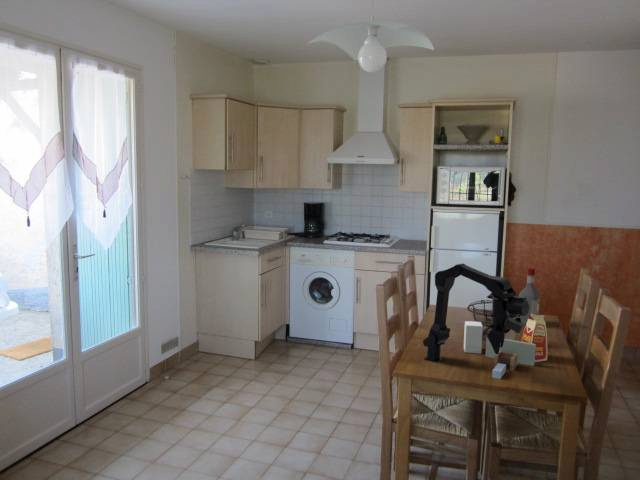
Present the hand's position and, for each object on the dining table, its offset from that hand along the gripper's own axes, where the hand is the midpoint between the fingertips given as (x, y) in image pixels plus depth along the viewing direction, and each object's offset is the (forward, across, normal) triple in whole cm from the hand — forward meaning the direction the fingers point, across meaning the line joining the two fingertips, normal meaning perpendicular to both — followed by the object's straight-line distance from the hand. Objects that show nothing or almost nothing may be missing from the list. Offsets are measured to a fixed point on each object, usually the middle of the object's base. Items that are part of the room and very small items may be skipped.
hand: (499, 350), depth 201 cm
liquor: (+11, +85, -1) cm, 86 cm away
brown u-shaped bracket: (+12, +18, 0) cm, 21 cm away
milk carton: (+12, +34, -9) cm, 37 cm away
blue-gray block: (+12, +7, +1) cm, 15 cm away
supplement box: (+12, +30, +16) cm, 36 cm away
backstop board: (+12, +25, 0) cm, 28 cm away
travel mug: (+12, +48, +5) cm, 50 cm away
